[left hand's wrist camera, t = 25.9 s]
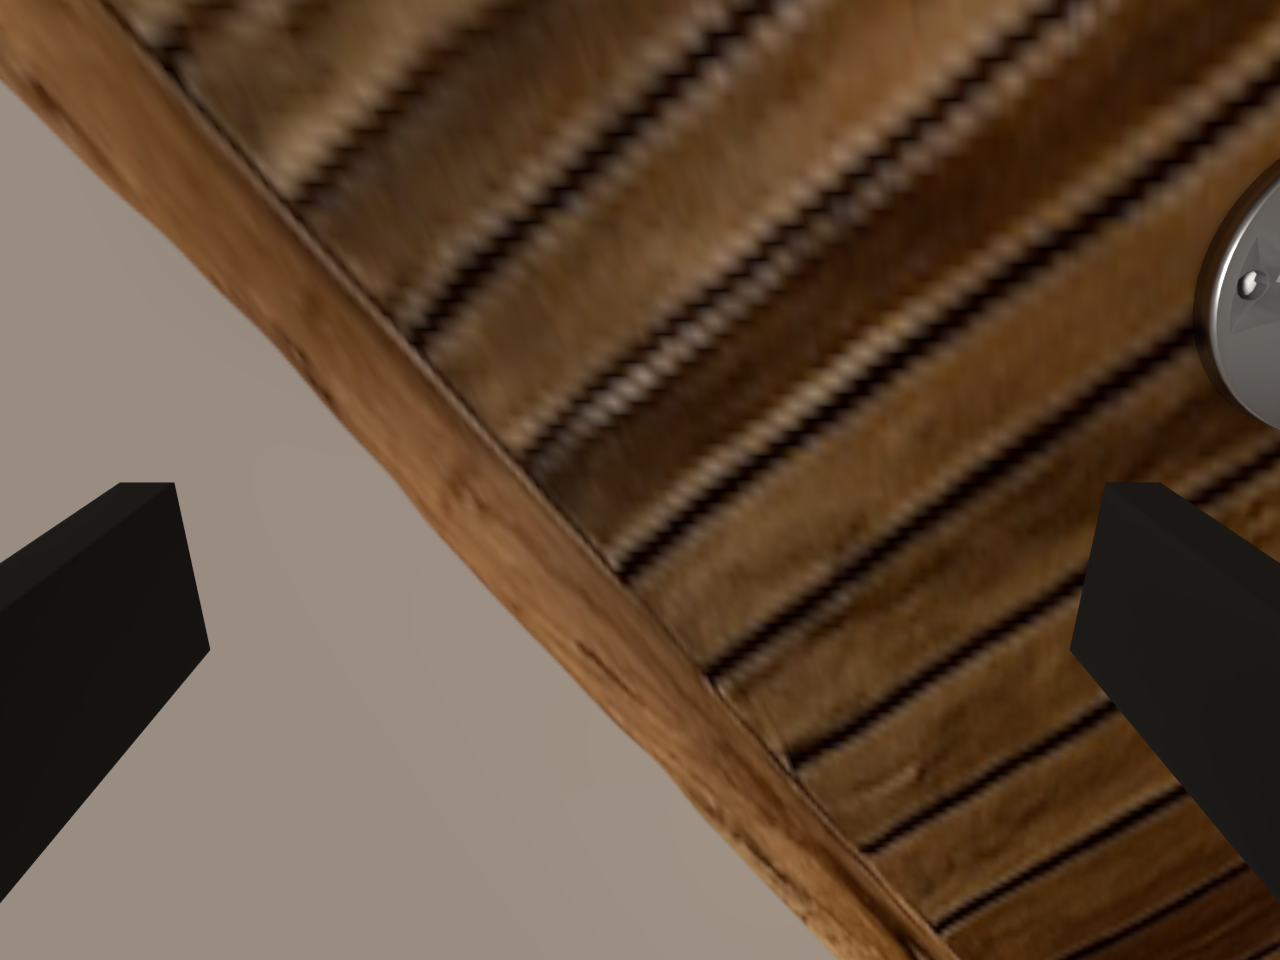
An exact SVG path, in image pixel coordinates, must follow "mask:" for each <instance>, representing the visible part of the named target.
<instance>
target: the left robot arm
mask: <svg viewBox="0 0 1280 960" xmlns="http://www.w3.org/2000/svg"><path fill="white" fill-rule="evenodd" d="M1193 328H1194V337H1195V342H1196V347H1197V351H1198V354H1199V357H1200V360H1201V363H1202V365H1203V367H1204V370H1205V372H1206V374H1207V375H1208V377H1209V379H1210V380H1211V382H1212V383H1213V385H1214V386H1215V387H1216V389H1217V390H1218V391H1219V392H1220V394H1221V395H1222V396H1223V397H1224V398H1226V399H1227V400H1228V401H1229V402H1230V403H1231V404H1232V405H1234V406H1235V407H1236V408H1238V409H1239V410H1240V411H1242V412H1244V413H1246V414H1247V415H1249V416H1251V417H1253V418H1255V419H1257V420H1259V421H1262V422H1264V423H1266V424H1268V425H1270V426H1272V427H1274V428H1277V429H1279V430H1280V159H1279V160H1277V161H1276V162H1275V163H1274V164H1273V165H1272V166H1270V167H1269V168H1268V169H1267V170H1266V171H1265V172H1263V173H1262V174H1261V175H1260V176H1259V177H1258V178H1257V179H1256V180H1255V181H1254V182H1253V183H1252V184H1251V185H1250V186H1249V188H1248V189H1247V190H1246V191H1245V192H1244V193H1243V195H1242V196H1241V197H1240V198H1239V199H1238V200H1237V202H1236V203H1235V205H1234V206H1233V207H1232V209H1231V210H1230V211H1229V213H1228V214H1227V216H1226V217H1225V219H1224V220H1223V222H1222V224H1221V225H1220V227H1219V229H1218V230H1217V232H1216V234H1215V236H1214V238H1213V240H1212V242H1211V244H1210V246H1209V248H1208V251H1207V253H1206V256H1205V258H1204V261H1203V264H1202V267H1201V270H1200V273H1199V276H1198V281H1197V285H1196V290H1195V297H1194V305H1193ZM209 651H210V646H209V642H208V637H207V632H206V628H205V623H204V618H203V614H202V609H201V604H200V600H199V595H198V590H197V586H196V581H195V576H194V572H193V567H192V562H191V558H190V553H189V549H188V544H187V539H186V535H185V530H184V525H183V521H182V516H181V511H180V507H179V502H178V497H177V493H176V488H175V483H119V484H117V485H116V486H114V487H113V488H111V489H110V490H108V491H107V492H105V493H104V494H102V495H101V496H99V497H98V498H96V499H95V500H93V501H92V502H90V503H89V504H87V505H86V506H84V507H83V508H81V509H80V510H78V511H77V512H75V513H74V514H73V515H71V516H70V517H68V518H67V519H65V520H64V521H62V522H61V523H59V524H58V525H56V526H55V527H53V528H52V529H50V530H49V531H47V532H46V533H44V534H43V535H41V536H40V537H38V538H37V539H35V540H34V541H32V542H31V543H29V544H28V545H27V546H25V547H24V548H22V549H21V550H19V551H18V552H16V553H15V554H13V555H12V556H10V557H9V558H7V559H6V560H4V561H3V562H1V563H0V903H1V902H2V900H3V899H4V898H5V897H6V896H7V894H8V893H9V892H10V891H11V889H12V888H13V887H14V886H15V885H16V883H17V882H18V881H19V880H20V879H21V877H22V876H23V875H24V874H25V873H26V871H27V870H28V869H29V868H30V867H31V865H32V864H33V863H34V862H35V861H36V859H37V858H38V857H39V856H40V855H41V853H42V852H43V851H44V850H45V849H46V847H47V846H48V845H49V844H50V842H51V841H52V840H53V839H54V838H55V836H56V835H57V834H58V833H59V832H60V830H61V829H62V828H63V827H64V826H65V824H66V823H67V822H68V821H69V820H70V818H71V817H72V816H73V815H74V813H75V812H76V811H77V810H78V809H79V808H80V806H81V805H82V804H83V803H84V801H85V800H86V799H87V798H88V797H89V795H90V794H91V793H92V792H93V791H94V789H95V788H96V787H97V786H98V785H99V783H100V782H101V781H102V780H103V779H104V777H105V776H106V775H107V774H108V773H109V771H110V770H111V769H112V768H113V767H114V765H115V764H116V763H117V762H118V760H119V759H120V758H121V757H122V756H123V754H124V753H125V752H126V751H127V750H128V748H129V747H130V746H131V745H132V744H133V742H134V741H135V740H136V739H137V738H138V736H139V735H140V734H141V733H142V732H143V730H144V729H145V728H146V727H147V726H148V724H149V723H150V722H151V721H152V720H153V718H154V717H155V716H156V715H157V714H158V712H159V711H160V710H161V709H162V708H163V706H164V705H165V704H166V703H167V701H168V700H169V699H170V698H171V697H172V695H173V694H174V693H175V692H176V691H177V689H178V688H179V687H180V686H181V685H182V683H183V682H184V681H185V680H186V679H187V677H188V676H189V675H190V674H191V672H192V671H193V670H194V669H195V668H196V666H197V665H198V664H199V663H200V662H201V661H202V659H203V658H204V657H205V656H206V654H207V653H208V652H209ZM1070 651H1071V652H1072V653H1073V654H1074V656H1075V657H1076V658H1077V659H1078V661H1079V662H1080V663H1081V664H1082V665H1083V667H1084V668H1085V669H1086V670H1087V671H1088V673H1089V674H1090V675H1091V676H1092V677H1093V679H1094V680H1095V681H1096V682H1097V683H1098V685H1099V686H1100V687H1101V688H1102V689H1103V691H1104V692H1105V693H1106V694H1107V695H1108V697H1109V698H1110V699H1111V700H1112V701H1113V703H1114V704H1115V705H1116V706H1117V708H1118V709H1119V710H1120V711H1121V712H1122V714H1123V715H1124V716H1125V717H1126V718H1127V720H1128V721H1129V722H1130V723H1131V724H1132V726H1133V727H1134V728H1135V729H1136V730H1137V732H1138V733H1139V734H1140V735H1141V736H1142V738H1143V739H1144V740H1145V741H1146V742H1147V744H1148V745H1149V746H1150V747H1151V748H1152V750H1153V751H1154V752H1155V753H1156V755H1157V756H1158V757H1159V758H1160V759H1161V761H1162V762H1163V763H1164V764H1165V765H1166V767H1167V768H1168V769H1169V770H1170V771H1171V773H1172V774H1173V775H1174V776H1175V777H1176V779H1177V780H1178V781H1179V782H1180V783H1181V785H1182V786H1183V787H1184V788H1185V789H1186V791H1187V792H1188V793H1189V794H1190V795H1191V797H1192V798H1193V799H1194V800H1195V802H1196V803H1197V804H1198V805H1199V806H1200V808H1201V809H1202V810H1203V811H1204V812H1205V814H1206V815H1207V816H1208V817H1209V818H1210V820H1211V821H1212V822H1213V823H1214V824H1215V826H1216V827H1217V828H1218V829H1219V830H1220V832H1221V833H1222V834H1223V835H1224V836H1225V838H1226V839H1227V840H1228V841H1229V842H1230V844H1231V845H1232V846H1233V847H1234V849H1235V850H1236V851H1237V852H1238V853H1239V855H1240V856H1241V857H1242V858H1243V859H1244V861H1245V862H1246V863H1247V864H1248V865H1249V867H1250V868H1251V869H1252V870H1253V871H1254V873H1255V874H1256V875H1257V876H1258V877H1259V879H1260V880H1261V881H1262V882H1263V883H1264V885H1265V886H1266V887H1267V888H1268V889H1269V891H1270V892H1271V893H1272V894H1273V896H1274V897H1275V898H1276V899H1277V900H1278V902H1279V903H1280V563H1279V562H1277V561H1276V560H1274V559H1273V558H1271V557H1270V556H1268V555H1267V554H1265V553H1264V552H1262V551H1261V550H1259V549H1258V548H1256V547H1255V546H1253V545H1252V544H1251V543H1249V542H1248V541H1246V540H1245V539H1243V538H1242V537H1240V536H1239V535H1237V534H1236V533H1234V532H1233V531H1231V530H1230V529H1228V528H1227V527H1225V526H1224V525H1222V524H1221V523H1219V522H1218V521H1216V520H1215V519H1213V518H1212V517H1210V516H1209V515H1207V514H1206V513H1205V512H1203V511H1202V510H1200V509H1199V508H1197V507H1196V506H1194V505H1193V504H1191V503H1190V502H1188V501H1187V500H1185V499H1184V498H1182V497H1181V496H1179V495H1178V494H1176V493H1175V492H1173V491H1172V490H1170V489H1169V488H1167V487H1166V486H1164V485H1163V484H1161V483H1105V488H1104V493H1103V497H1102V502H1101V507H1100V511H1099V516H1098V521H1097V525H1096V530H1095V535H1094V539H1093V544H1092V548H1091V553H1090V558H1089V562H1088V567H1087V572H1086V576H1085V581H1084V586H1083V590H1082V595H1081V600H1080V604H1079V609H1078V614H1077V618H1076V623H1075V628H1074V632H1073V637H1072V642H1071V646H1070Z"/></svg>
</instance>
